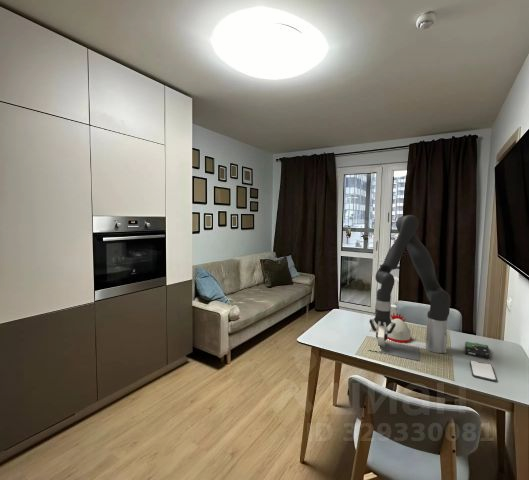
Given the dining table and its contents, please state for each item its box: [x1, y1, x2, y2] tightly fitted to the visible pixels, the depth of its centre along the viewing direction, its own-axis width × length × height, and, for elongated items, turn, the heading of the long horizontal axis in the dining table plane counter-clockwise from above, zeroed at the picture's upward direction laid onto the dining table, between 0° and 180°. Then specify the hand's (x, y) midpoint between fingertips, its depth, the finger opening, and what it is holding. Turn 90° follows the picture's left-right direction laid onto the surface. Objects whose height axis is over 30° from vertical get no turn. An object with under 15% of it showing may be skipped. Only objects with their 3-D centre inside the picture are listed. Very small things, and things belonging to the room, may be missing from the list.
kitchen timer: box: [387, 312, 412, 344], centre depth 171 cm, size 14×14×15 cm
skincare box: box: [390, 303, 398, 320], centre depth 185 cm, size 8×7×16 cm
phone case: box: [469, 360, 498, 383], centre depth 134 cm, size 9×2×16 cm
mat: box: [379, 341, 420, 362], centre depth 156 cm, size 24×16×1 cm, turn 63°
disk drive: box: [464, 341, 491, 361], centre depth 155 cm, size 10×3×15 cm
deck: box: [377, 325, 386, 347], centre depth 158 cm, size 3×7×10 cm
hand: (381, 339), depth 159 cm, fingers closed on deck, 3 cm apart
